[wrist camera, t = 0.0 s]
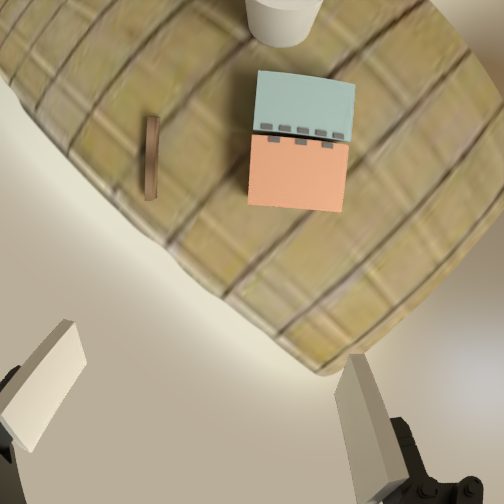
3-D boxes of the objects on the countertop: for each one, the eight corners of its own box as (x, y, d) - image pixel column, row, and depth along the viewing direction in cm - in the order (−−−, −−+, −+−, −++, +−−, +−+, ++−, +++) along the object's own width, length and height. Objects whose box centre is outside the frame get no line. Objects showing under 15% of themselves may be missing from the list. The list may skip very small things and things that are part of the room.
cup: (307, 0, 27) (322, -45, 16) (312, 48, 30) (333, 12, 19) (246, 1, 28) (240, -46, 16) (249, 49, 31) (244, 11, 19)
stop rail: (153, 118, 34) (147, 117, 32) (160, 117, 34) (154, 116, 32) (150, 197, 38) (144, 200, 36) (156, 198, 38) (151, 200, 36)
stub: (253, 136, 35) (252, 134, 30) (338, 144, 35) (349, 145, 30) (249, 196, 38) (247, 204, 33) (331, 203, 38) (341, 212, 33)
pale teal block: (258, 79, 32) (258, 69, 27) (343, 91, 32) (355, 84, 27) (254, 131, 35) (253, 129, 30) (339, 142, 35) (351, 141, 30)
